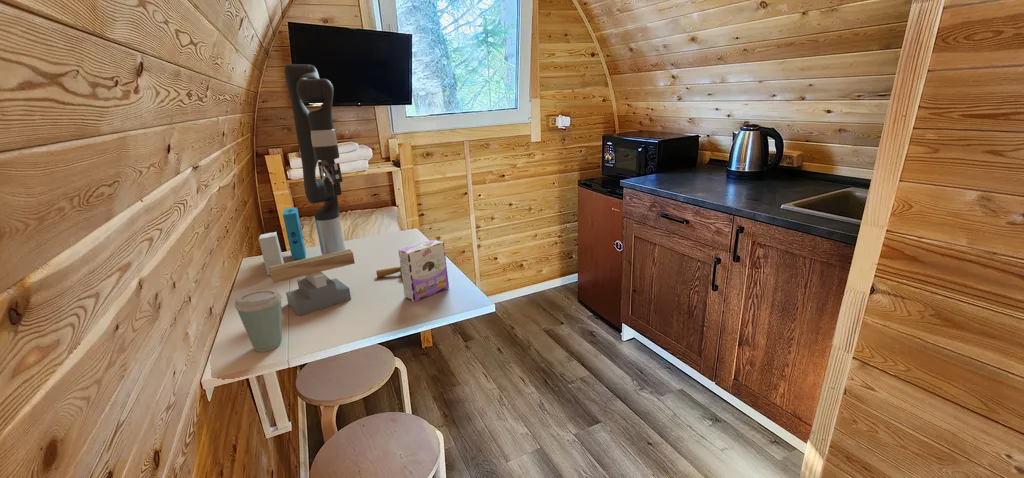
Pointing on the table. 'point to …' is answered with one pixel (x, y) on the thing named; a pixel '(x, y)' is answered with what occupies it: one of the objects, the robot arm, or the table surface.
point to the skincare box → (270, 250)
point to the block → (294, 233)
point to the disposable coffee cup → (261, 318)
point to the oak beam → (311, 265)
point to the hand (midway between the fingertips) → (333, 193)
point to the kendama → (388, 271)
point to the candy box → (423, 269)
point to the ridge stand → (317, 293)
